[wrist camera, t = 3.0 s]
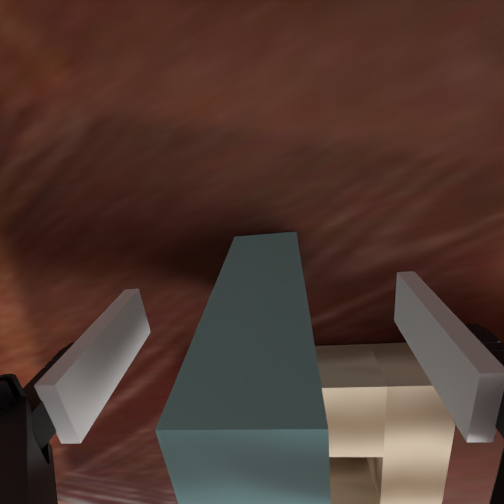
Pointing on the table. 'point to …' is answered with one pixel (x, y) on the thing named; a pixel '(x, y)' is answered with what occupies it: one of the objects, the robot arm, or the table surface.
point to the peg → (250, 388)
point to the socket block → (383, 426)
